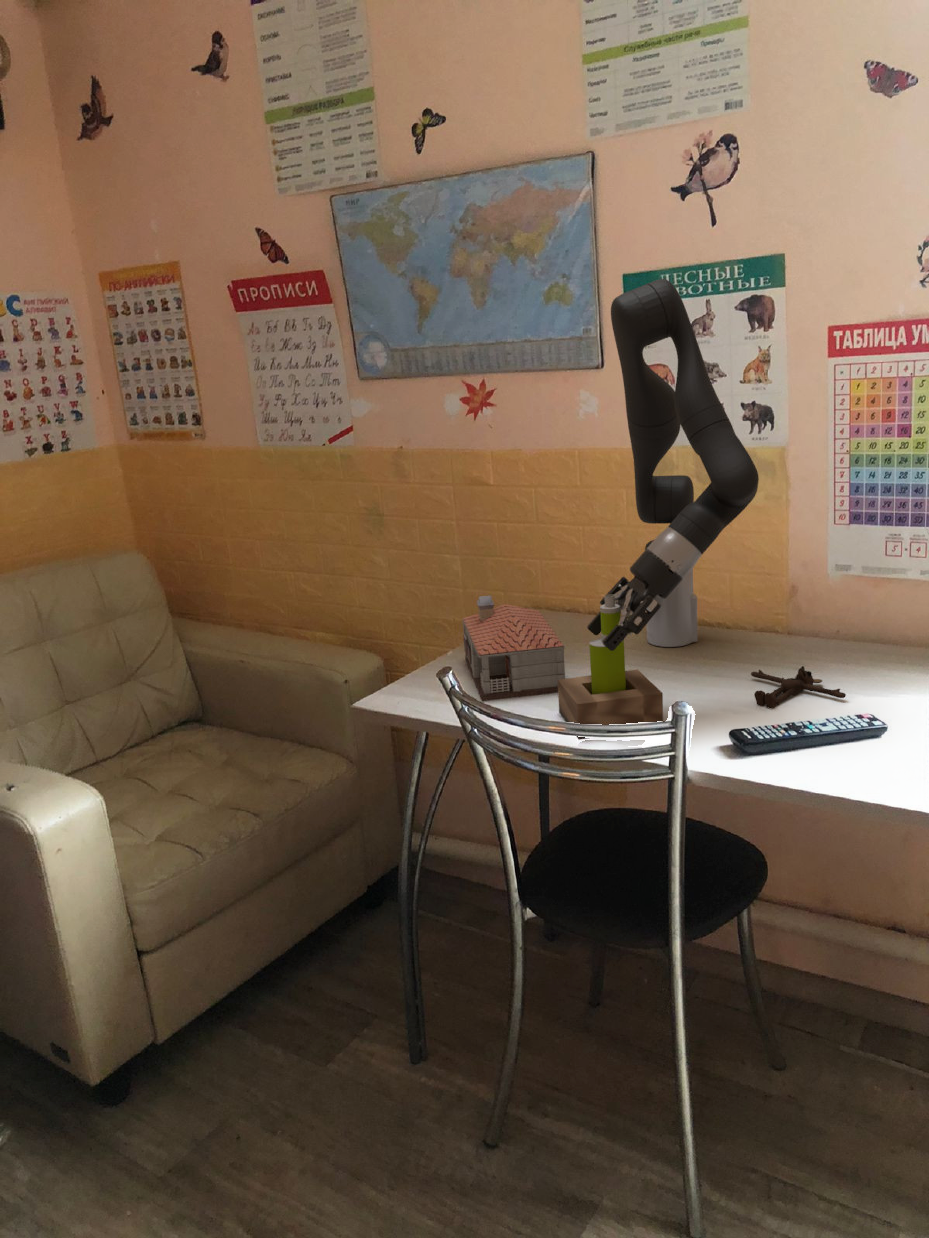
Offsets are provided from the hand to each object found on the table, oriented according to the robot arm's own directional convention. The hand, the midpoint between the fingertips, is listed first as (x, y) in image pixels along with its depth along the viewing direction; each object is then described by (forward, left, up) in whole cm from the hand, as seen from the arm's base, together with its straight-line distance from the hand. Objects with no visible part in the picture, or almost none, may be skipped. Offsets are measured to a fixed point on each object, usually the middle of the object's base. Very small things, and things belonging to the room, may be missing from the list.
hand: (598, 639), depth 166 cm
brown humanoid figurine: (-33, -1, -15) cm, 36 cm away
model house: (+9, -28, -15) cm, 33 cm away
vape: (-1, 0, -13) cm, 13 cm away
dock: (-1, 0, -14) cm, 14 cm away
